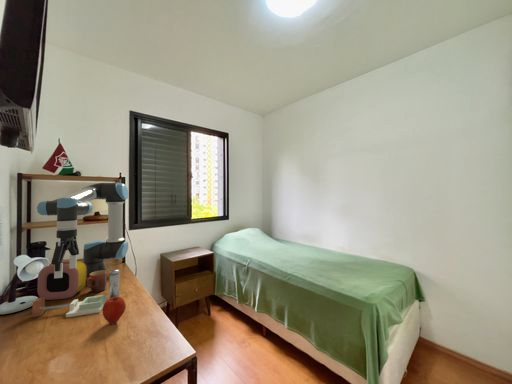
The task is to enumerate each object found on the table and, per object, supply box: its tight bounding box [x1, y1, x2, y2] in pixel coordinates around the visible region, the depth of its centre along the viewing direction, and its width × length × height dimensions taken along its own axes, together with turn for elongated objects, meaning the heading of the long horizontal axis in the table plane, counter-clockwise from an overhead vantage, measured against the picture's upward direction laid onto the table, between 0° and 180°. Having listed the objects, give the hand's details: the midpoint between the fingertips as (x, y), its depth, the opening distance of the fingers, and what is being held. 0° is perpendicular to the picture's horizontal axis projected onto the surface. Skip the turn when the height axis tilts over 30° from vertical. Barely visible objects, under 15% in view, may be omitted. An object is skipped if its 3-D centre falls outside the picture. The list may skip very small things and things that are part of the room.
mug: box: [85, 270, 109, 294], centre depth 123 cm, size 12×9×10 cm
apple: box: [102, 296, 126, 325], centre depth 93 cm, size 9×8×11 cm
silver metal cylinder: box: [108, 268, 120, 299], centre depth 115 cm, size 4×4×15 cm
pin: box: [31, 297, 78, 318], centre depth 100 cm, size 4×16×7 cm, turn 111°
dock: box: [65, 294, 108, 318], centre depth 105 cm, size 12×13×4 cm
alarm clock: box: [36, 258, 87, 301], centre depth 118 cm, size 18×11×19 cm, turn 102°
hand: (66, 272), depth 104 cm, fingers open, 13 cm apart
